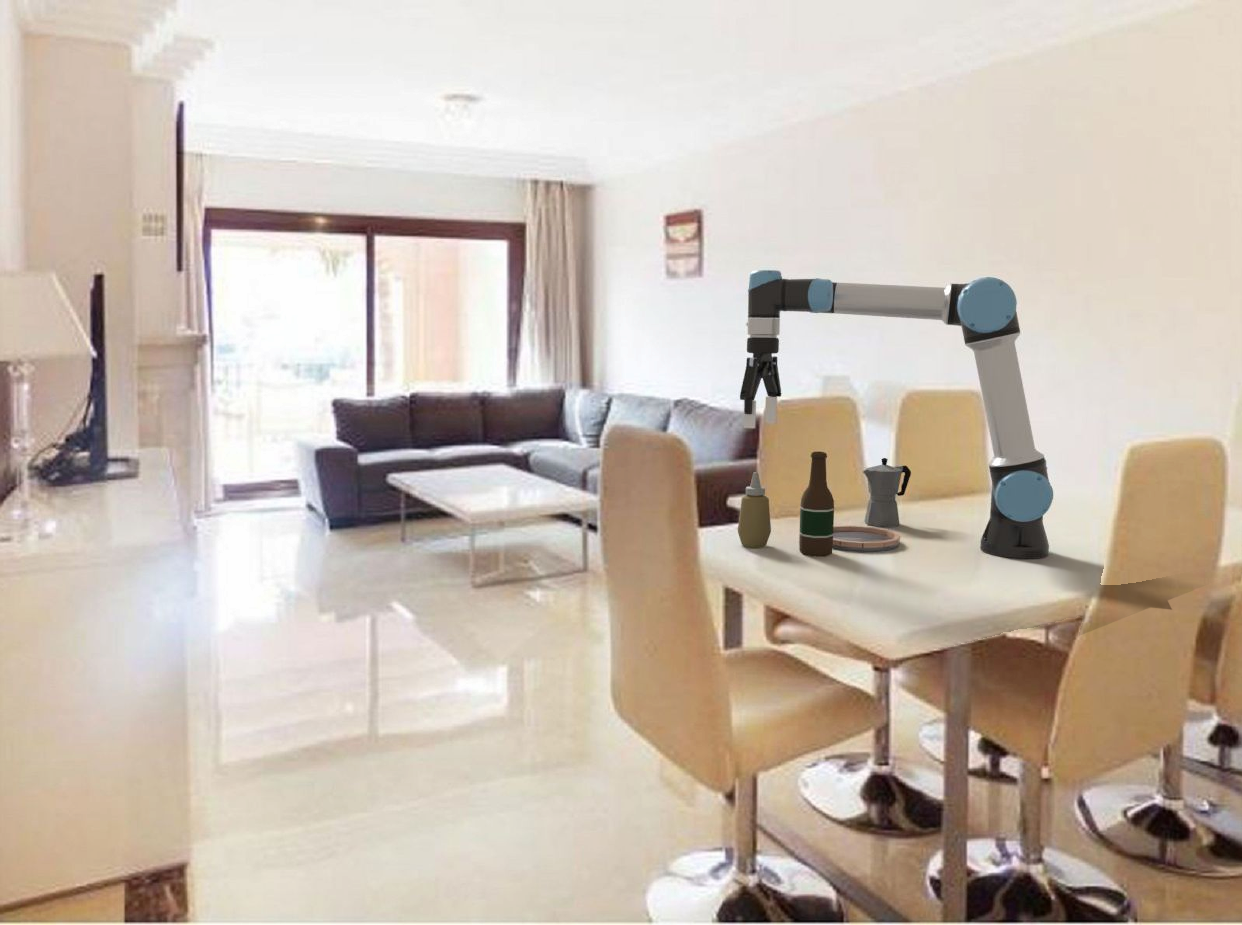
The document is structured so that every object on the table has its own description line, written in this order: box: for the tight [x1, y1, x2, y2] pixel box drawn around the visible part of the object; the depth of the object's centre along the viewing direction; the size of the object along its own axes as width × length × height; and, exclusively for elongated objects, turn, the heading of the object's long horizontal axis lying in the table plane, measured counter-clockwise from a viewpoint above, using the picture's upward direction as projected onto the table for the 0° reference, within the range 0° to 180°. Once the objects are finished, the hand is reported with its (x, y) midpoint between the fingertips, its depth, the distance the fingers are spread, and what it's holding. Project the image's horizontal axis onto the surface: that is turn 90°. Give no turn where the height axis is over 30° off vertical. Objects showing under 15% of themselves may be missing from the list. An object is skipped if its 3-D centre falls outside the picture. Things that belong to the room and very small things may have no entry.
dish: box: [832, 524, 901, 553], centre depth 240 cm, size 20×20×2 cm
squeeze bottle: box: [737, 472, 772, 549], centre depth 234 cm, size 8×8×18 cm
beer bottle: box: [798, 451, 835, 557], centre depth 227 cm, size 8×8×24 cm
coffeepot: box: [862, 457, 912, 528], centre depth 262 cm, size 15×9×18 cm, turn 113°
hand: (760, 425), depth 233 cm, fingers open, 13 cm apart
